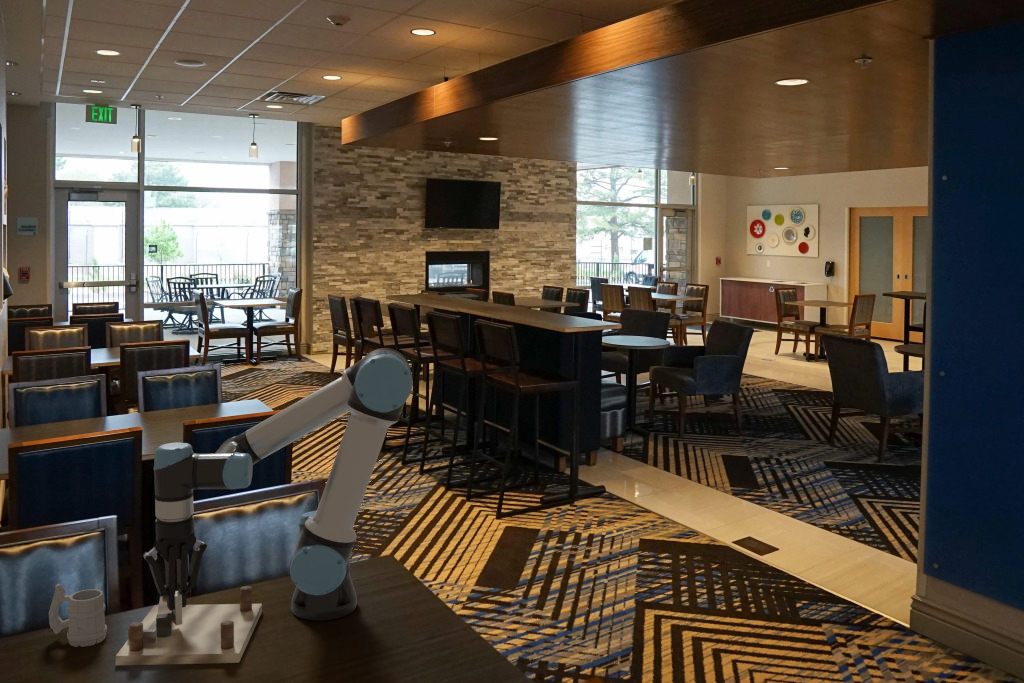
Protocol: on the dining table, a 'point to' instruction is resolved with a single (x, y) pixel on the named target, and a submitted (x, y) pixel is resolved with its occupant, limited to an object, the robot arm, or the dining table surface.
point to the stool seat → (194, 635)
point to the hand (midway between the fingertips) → (177, 622)
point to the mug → (80, 616)
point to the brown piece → (163, 618)
